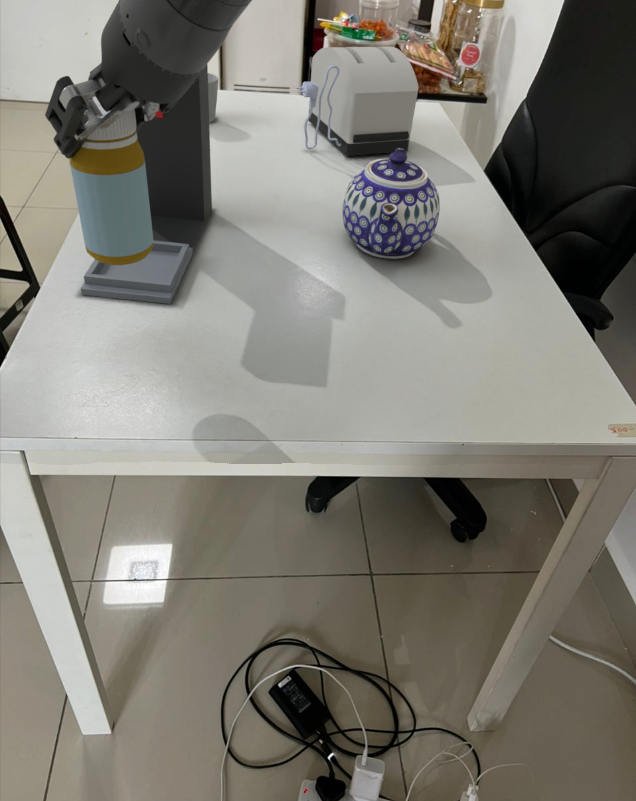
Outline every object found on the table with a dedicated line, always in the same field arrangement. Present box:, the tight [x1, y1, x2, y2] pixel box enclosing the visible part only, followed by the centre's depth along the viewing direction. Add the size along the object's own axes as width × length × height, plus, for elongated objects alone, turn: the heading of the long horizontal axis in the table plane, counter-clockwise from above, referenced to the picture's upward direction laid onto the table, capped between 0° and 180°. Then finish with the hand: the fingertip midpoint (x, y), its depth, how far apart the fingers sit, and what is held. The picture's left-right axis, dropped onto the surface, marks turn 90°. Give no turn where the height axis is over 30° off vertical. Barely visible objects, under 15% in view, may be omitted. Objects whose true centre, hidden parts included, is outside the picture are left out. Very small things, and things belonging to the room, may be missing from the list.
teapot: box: [342, 148, 441, 260], centre depth 99 cm, size 25×15×15 cm, turn 167°
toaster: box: [296, 45, 419, 158], centre depth 132 cm, size 23×25×17 cm
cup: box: [208, 72, 219, 124], centre depth 137 cm, size 8×10×8 cm
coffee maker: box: [80, 62, 213, 305], centre depth 89 cm, size 29×12×26 cm, turn 176°
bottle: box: [69, 96, 154, 265], centre depth 64 cm, size 7×7×15 cm
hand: (93, 139), depth 62 cm, fingers closed on bottle, 6 cm apart
